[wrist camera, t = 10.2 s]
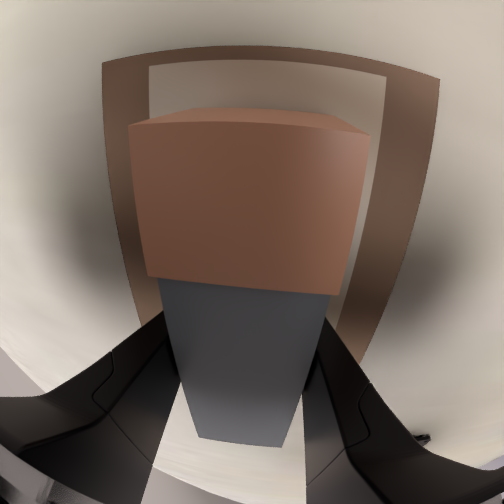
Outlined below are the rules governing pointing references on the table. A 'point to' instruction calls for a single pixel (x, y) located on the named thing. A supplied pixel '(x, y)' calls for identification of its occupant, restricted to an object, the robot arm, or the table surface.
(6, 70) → the table surface
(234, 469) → the table surface
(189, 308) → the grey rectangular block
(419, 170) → the writing board
